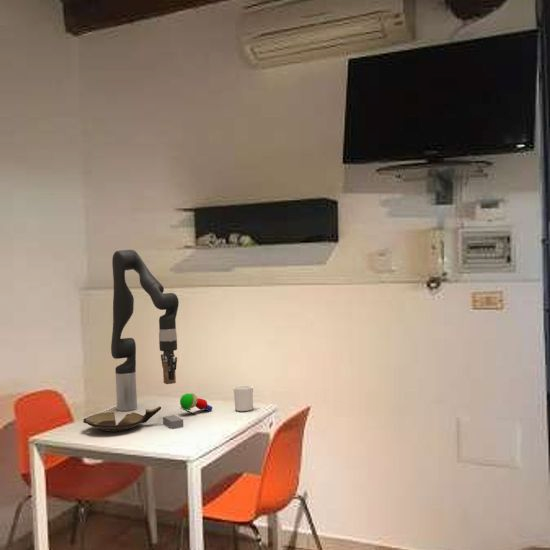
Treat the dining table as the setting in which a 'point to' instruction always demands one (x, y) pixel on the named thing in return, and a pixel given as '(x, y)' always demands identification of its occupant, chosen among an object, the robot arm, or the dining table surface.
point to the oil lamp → (130, 420)
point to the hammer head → (173, 421)
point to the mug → (243, 398)
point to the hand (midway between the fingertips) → (169, 378)
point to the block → (167, 374)
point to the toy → (193, 403)
